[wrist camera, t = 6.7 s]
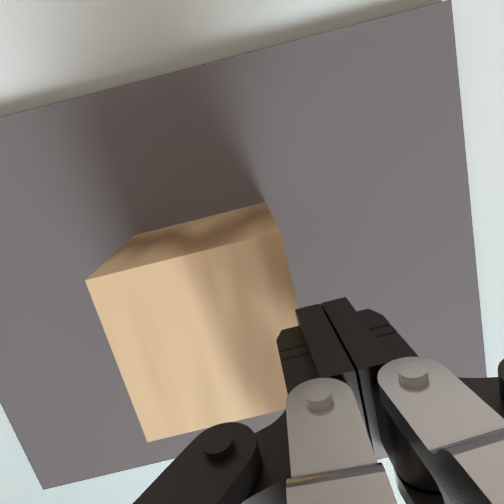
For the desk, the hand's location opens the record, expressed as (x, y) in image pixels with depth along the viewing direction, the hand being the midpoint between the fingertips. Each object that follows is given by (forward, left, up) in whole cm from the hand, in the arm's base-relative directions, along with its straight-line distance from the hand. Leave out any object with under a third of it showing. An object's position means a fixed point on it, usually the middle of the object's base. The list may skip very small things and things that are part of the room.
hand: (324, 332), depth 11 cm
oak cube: (0, 0, -4) cm, 4 cm away
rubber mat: (+3, 0, -8) cm, 8 cm away
